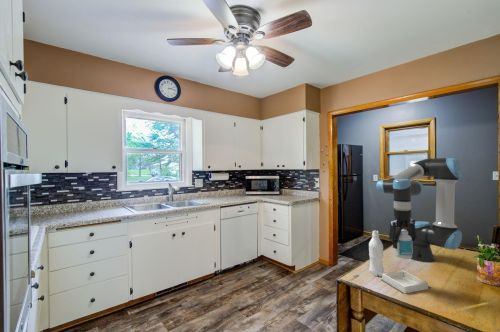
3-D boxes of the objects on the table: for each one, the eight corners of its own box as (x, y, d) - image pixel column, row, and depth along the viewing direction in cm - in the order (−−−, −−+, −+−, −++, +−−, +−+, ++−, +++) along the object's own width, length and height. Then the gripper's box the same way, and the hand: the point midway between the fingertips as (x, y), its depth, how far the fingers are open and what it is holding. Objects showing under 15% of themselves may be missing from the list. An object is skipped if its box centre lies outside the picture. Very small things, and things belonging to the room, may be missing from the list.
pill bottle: (415, 257, 118) (414, 231, 118) (406, 260, 115) (406, 233, 115) (400, 252, 125) (399, 227, 125) (391, 255, 121) (391, 229, 121)
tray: (403, 275, 128) (403, 270, 128) (428, 288, 115) (427, 282, 115) (381, 279, 125) (381, 273, 125) (404, 293, 112) (404, 287, 112)
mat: (407, 276, 129) (407, 274, 129) (432, 289, 116) (432, 287, 116) (380, 281, 125) (380, 279, 125) (403, 295, 111) (403, 293, 111)
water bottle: (366, 272, 135) (365, 229, 134) (378, 271, 135) (377, 228, 135) (374, 278, 128) (373, 233, 127) (386, 277, 128) (385, 232, 128)
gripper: (411, 206, 125) (412, 248, 126) (379, 209, 121) (380, 253, 121) (425, 209, 118) (426, 253, 118) (391, 212, 113) (392, 258, 114)
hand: (403, 253), depth 120 cm, fingers closed on pill bottle, 7 cm apart
